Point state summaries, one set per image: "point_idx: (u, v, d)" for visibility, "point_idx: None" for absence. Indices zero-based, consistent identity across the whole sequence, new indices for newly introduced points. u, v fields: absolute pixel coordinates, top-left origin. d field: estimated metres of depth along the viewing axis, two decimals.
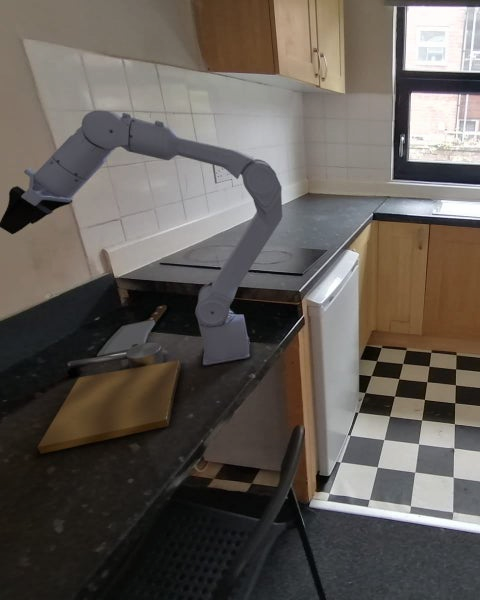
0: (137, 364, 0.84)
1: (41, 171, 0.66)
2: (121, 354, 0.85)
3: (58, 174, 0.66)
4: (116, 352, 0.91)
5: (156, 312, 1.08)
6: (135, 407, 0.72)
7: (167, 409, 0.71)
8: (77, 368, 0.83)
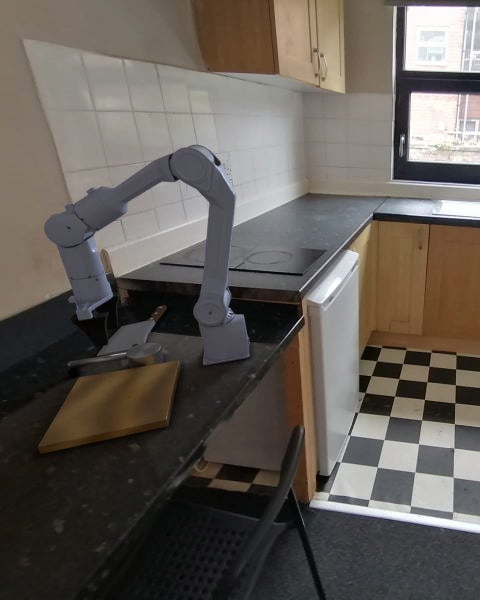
0: (137, 364, 0.84)
1: (75, 293, 0.76)
2: (121, 354, 0.85)
3: (83, 286, 0.75)
4: (116, 352, 0.91)
5: (156, 312, 1.08)
6: (135, 407, 0.72)
7: (167, 409, 0.71)
8: (77, 368, 0.83)
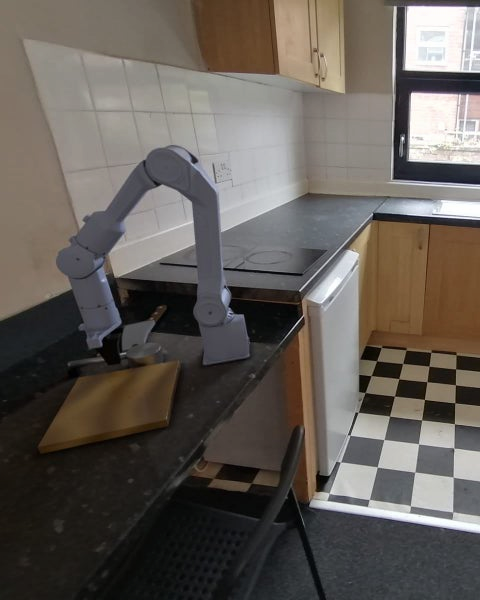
0: (137, 364, 0.84)
1: (85, 321, 0.78)
2: (121, 354, 0.85)
3: (93, 315, 0.78)
4: None
5: (156, 312, 1.08)
6: (135, 407, 0.72)
7: (167, 409, 0.71)
8: (77, 368, 0.83)
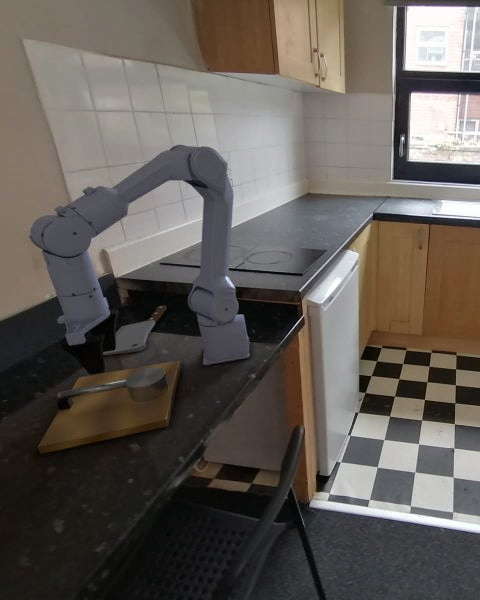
0: (139, 394, 0.72)
1: (65, 312, 0.64)
2: (120, 382, 0.73)
3: (74, 304, 0.64)
4: (116, 352, 0.91)
5: (156, 312, 1.08)
6: (135, 407, 0.72)
7: (167, 409, 0.71)
8: (68, 399, 0.71)
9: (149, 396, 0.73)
